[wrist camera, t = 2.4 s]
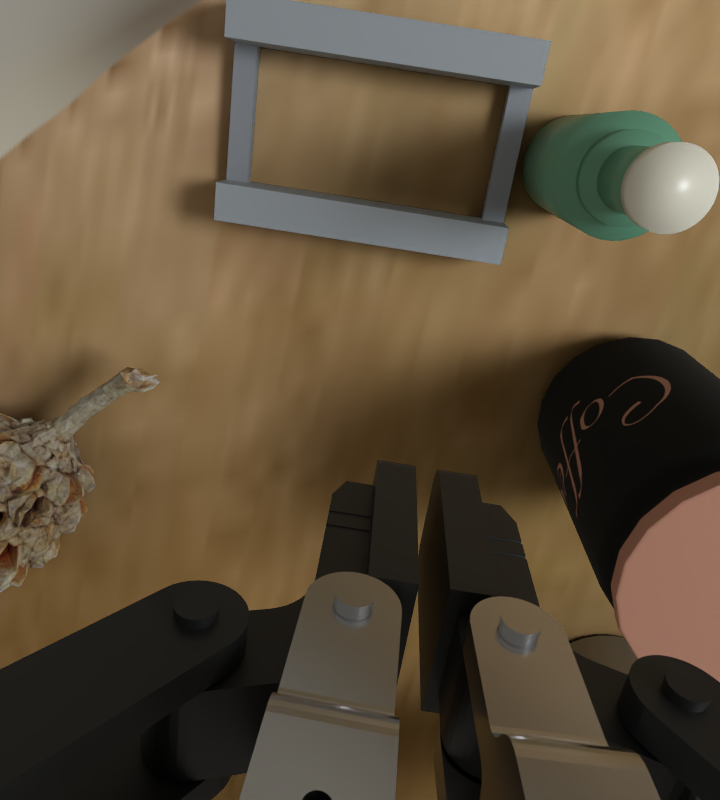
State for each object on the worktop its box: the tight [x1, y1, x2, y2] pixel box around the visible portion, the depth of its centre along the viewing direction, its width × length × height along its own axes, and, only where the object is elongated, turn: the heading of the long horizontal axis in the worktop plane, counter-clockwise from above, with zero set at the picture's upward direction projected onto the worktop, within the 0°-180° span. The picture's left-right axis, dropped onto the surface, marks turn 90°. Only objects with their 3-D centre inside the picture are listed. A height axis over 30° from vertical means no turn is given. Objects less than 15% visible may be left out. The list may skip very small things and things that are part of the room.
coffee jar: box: [538, 338, 720, 682], centre depth 34 cm, size 11×11×18 cm
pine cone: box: [0, 367, 159, 592], centre depth 41 cm, size 22×10×10 cm, turn 137°
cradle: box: [214, 0, 551, 265], centre depth 36 cm, size 16×11×3 cm
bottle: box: [521, 111, 719, 241], centre depth 30 cm, size 5×5×16 cm
